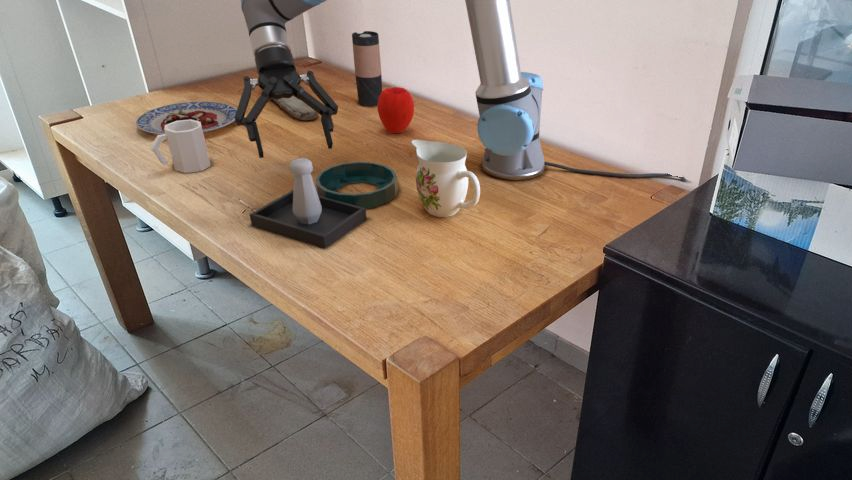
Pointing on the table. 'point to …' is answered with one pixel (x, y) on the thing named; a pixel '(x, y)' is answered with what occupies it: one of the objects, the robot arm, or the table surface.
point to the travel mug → (367, 67)
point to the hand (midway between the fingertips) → (296, 150)
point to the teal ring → (358, 173)
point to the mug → (184, 146)
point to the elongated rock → (297, 108)
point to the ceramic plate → (188, 116)
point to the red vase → (395, 109)
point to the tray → (322, 233)
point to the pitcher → (443, 178)
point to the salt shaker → (304, 192)
